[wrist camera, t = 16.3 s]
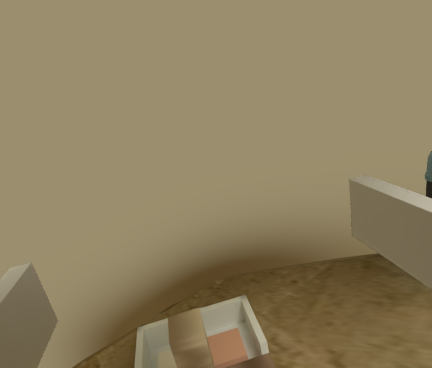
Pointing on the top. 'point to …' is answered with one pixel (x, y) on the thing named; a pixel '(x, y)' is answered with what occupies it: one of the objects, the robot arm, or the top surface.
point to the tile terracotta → (227, 348)
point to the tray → (213, 323)
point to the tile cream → (166, 359)
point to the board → (256, 362)
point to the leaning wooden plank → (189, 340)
